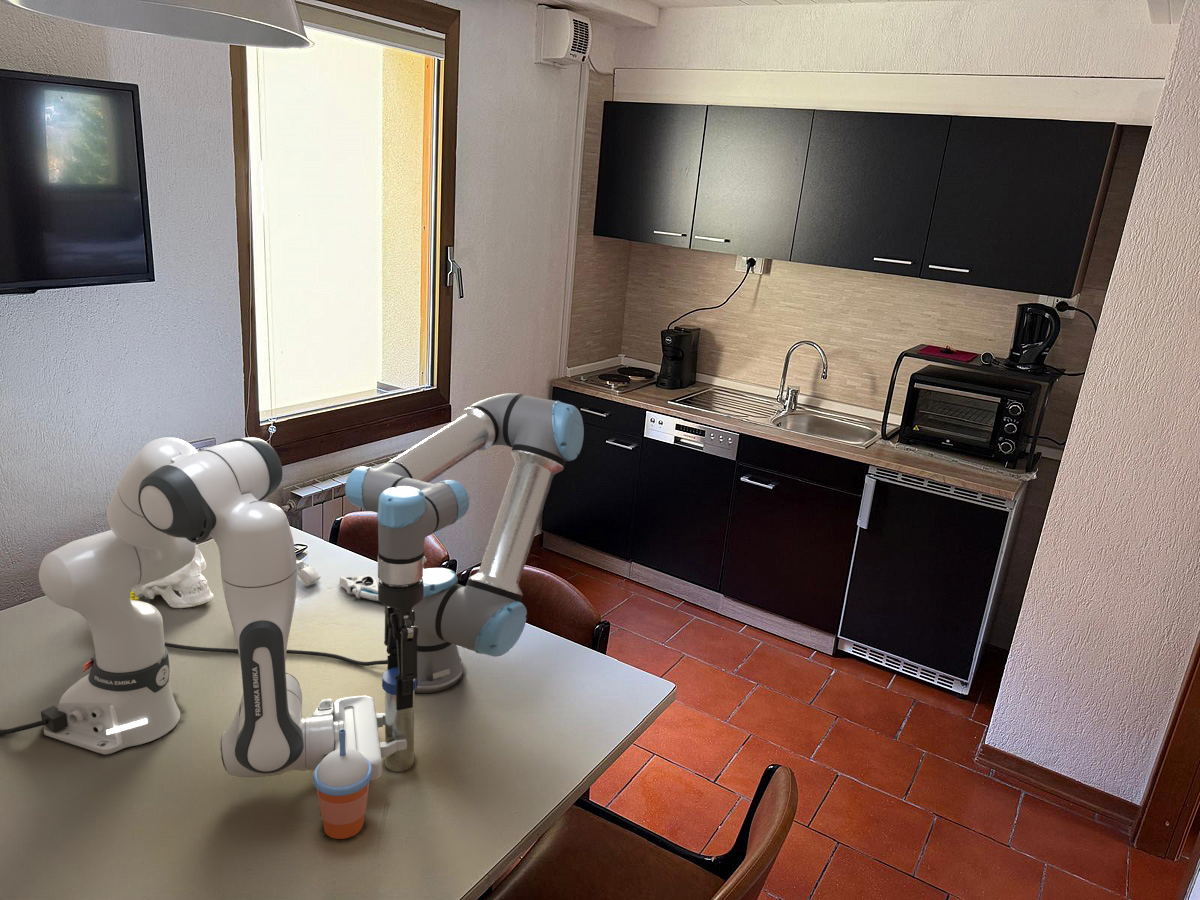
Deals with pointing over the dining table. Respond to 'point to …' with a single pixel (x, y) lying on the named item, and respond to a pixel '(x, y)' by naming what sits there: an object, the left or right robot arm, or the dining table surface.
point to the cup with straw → (343, 790)
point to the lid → (393, 681)
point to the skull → (182, 585)
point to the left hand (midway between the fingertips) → (404, 731)
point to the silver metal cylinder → (399, 733)
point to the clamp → (307, 573)
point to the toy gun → (360, 587)
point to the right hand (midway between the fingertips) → (399, 697)
